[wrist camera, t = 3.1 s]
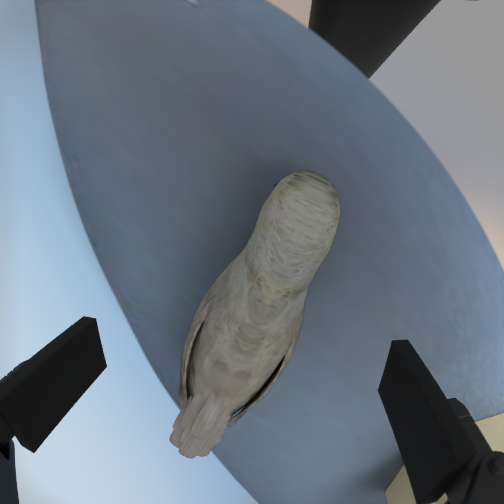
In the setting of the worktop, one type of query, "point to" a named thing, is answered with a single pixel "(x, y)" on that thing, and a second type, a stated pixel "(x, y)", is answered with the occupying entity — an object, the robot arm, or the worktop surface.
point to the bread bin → (402, 498)
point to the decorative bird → (254, 312)
